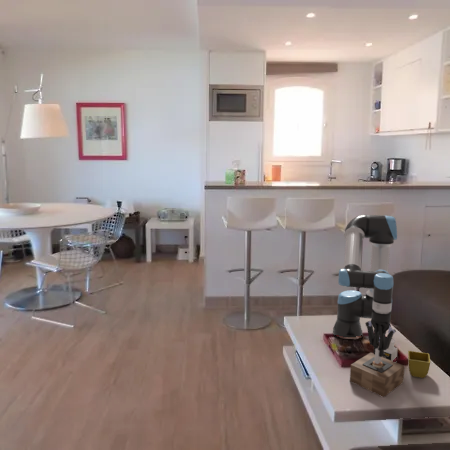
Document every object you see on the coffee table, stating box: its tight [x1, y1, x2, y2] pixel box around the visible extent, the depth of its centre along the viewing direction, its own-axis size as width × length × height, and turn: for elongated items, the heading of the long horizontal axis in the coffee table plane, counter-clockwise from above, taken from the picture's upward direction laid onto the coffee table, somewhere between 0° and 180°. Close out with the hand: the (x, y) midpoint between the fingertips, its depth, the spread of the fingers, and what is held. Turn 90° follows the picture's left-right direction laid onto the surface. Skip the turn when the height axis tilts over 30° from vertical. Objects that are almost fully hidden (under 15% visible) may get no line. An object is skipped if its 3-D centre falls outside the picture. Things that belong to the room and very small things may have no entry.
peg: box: [373, 361, 383, 369], centre depth 196 cm, size 4×4×8 cm
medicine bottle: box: [382, 336, 399, 361], centre depth 212 cm, size 7×7×12 cm
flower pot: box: [407, 350, 431, 379], centre depth 202 cm, size 9×9×9 cm
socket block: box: [349, 352, 405, 398], centre depth 196 cm, size 16×16×8 cm
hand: (377, 362), depth 195 cm, fingers closed
